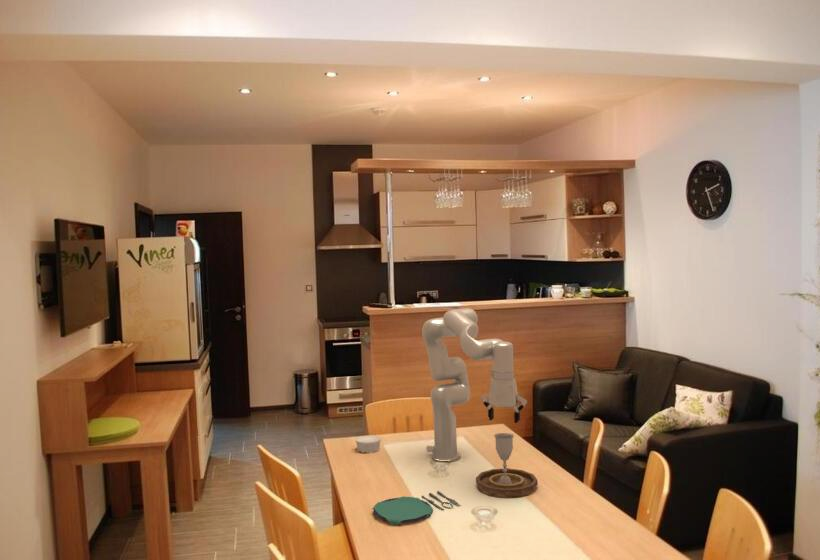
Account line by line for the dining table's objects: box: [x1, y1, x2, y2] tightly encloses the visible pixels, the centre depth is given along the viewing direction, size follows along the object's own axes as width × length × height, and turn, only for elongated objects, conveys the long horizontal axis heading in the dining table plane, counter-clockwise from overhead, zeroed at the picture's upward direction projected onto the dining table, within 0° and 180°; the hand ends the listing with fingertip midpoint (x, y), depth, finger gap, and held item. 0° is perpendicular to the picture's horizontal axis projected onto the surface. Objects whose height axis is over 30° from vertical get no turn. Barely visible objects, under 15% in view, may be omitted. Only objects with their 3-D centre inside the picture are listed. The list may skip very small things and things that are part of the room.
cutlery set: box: [371, 490, 462, 526], centre depth 220 cm, size 20×30×2 cm, turn 119°
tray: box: [475, 467, 539, 499], centre depth 238 cm, size 22×22×3 cm
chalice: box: [493, 432, 514, 485], centre depth 238 cm, size 7×7×18 cm
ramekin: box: [355, 434, 382, 453], centre depth 288 cm, size 11×11×5 cm
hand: (503, 420), depth 237 cm, fingers open, 9 cm apart
